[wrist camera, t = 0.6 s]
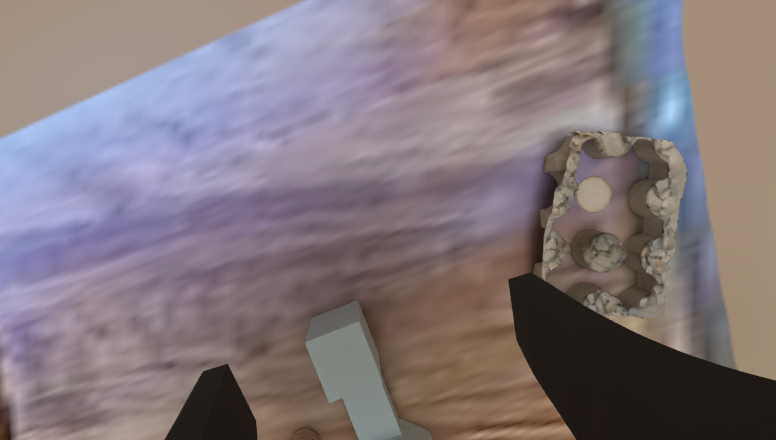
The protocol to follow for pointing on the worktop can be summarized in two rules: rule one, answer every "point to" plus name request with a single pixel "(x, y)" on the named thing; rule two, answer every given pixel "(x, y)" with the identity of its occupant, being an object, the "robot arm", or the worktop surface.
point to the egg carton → (605, 250)
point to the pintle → (305, 434)
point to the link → (356, 374)
